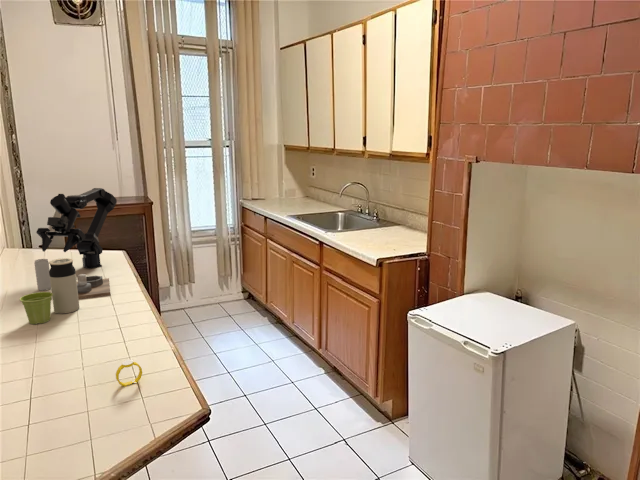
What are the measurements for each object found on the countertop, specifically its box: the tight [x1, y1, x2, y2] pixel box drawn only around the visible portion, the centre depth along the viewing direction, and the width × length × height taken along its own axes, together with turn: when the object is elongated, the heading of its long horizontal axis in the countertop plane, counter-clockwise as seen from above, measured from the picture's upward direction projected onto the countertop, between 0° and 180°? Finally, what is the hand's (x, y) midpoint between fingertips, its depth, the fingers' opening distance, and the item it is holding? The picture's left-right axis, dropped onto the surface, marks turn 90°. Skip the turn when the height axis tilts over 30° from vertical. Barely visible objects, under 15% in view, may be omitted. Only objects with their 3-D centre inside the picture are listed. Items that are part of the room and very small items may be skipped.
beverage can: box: [34, 258, 51, 292], centre depth 188 cm, size 5×5×12 cm
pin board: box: [76, 273, 112, 300], centre depth 187 cm, size 20×16×8 cm
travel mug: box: [48, 257, 80, 315], centre depth 165 cm, size 8×8×18 cm
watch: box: [115, 359, 143, 387], centre depth 117 cm, size 6×3×6 cm, turn 126°
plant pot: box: [19, 291, 53, 325], centre depth 156 cm, size 9×9×9 cm
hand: (53, 251), depth 194 cm, fingers open, 9 cm apart
